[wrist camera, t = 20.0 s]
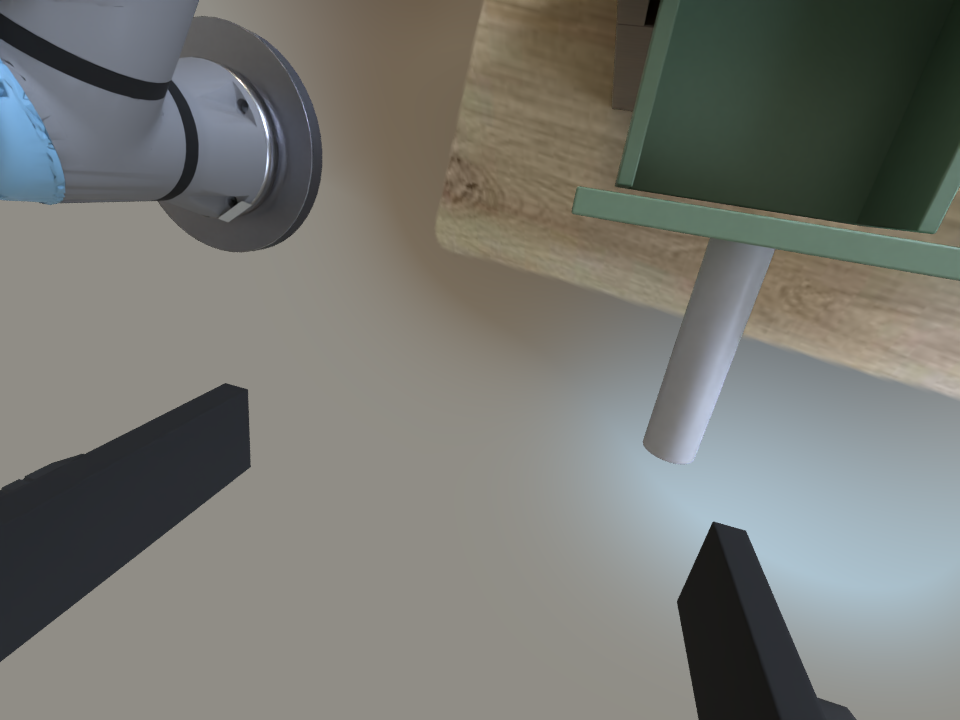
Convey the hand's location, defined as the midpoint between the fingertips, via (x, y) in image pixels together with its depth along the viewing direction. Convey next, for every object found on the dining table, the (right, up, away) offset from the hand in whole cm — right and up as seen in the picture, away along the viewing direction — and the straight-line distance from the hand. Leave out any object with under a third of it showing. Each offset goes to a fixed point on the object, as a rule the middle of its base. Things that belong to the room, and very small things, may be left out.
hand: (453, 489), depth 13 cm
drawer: (+12, +10, +8) cm, 18 cm away
